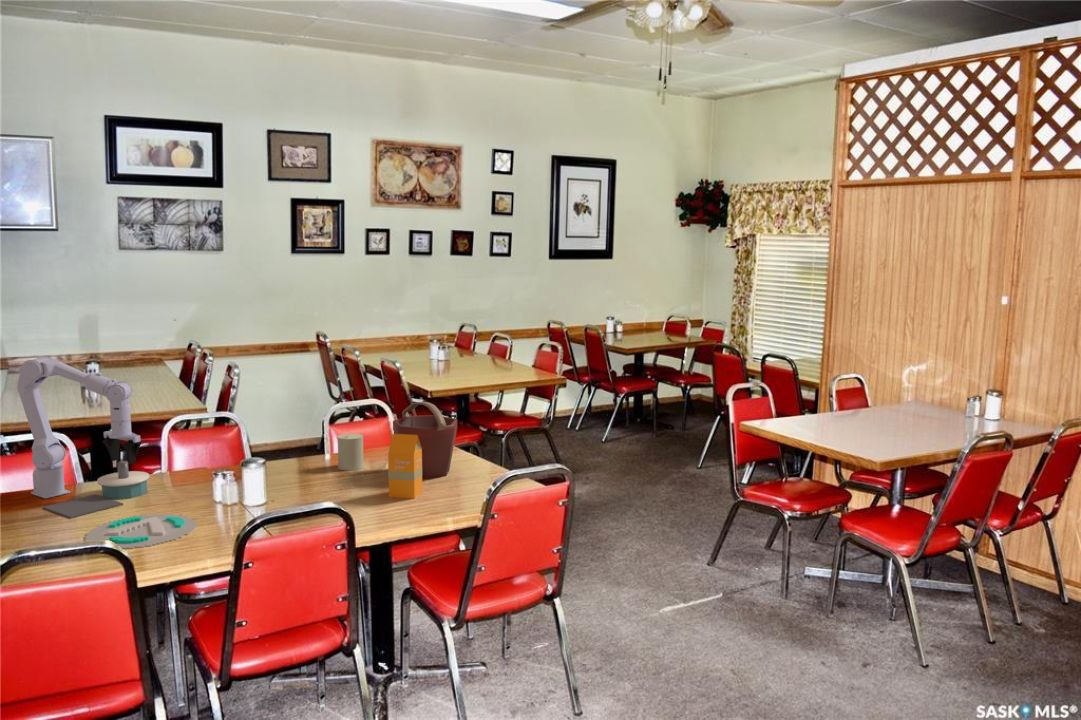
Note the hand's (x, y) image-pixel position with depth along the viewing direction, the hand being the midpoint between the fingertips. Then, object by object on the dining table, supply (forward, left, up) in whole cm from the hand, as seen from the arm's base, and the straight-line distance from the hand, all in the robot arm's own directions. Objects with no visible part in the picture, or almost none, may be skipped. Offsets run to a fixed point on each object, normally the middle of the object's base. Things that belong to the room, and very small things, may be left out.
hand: (123, 461), depth 275 cm
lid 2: (+38, -17, -11) cm, 43 cm away
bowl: (0, 0, -10) cm, 10 cm away
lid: (0, 0, -6) cm, 6 cm away
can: (+35, +65, -11) cm, 74 cm away
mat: (+3, -15, -10) cm, 19 cm away
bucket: (+62, +76, -11) cm, 99 cm away
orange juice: (+74, +52, -11) cm, 91 cm away
